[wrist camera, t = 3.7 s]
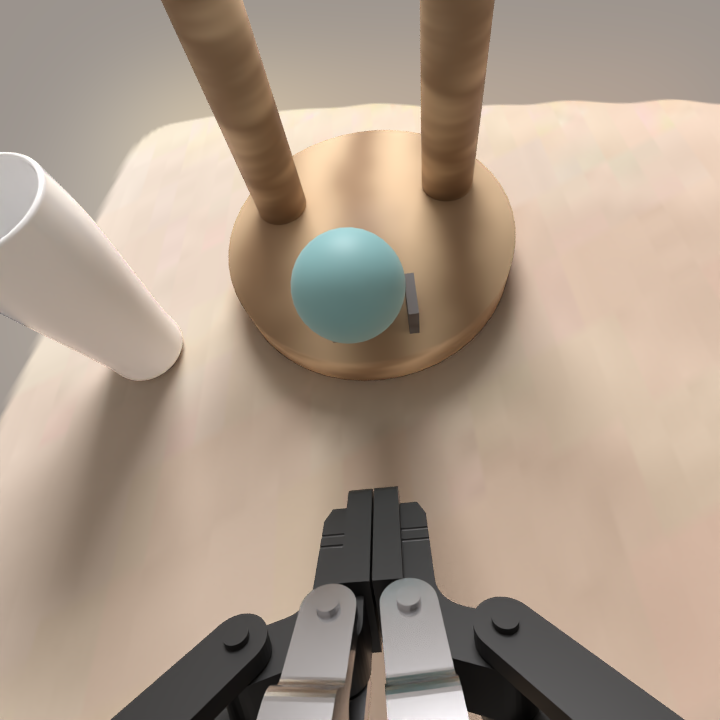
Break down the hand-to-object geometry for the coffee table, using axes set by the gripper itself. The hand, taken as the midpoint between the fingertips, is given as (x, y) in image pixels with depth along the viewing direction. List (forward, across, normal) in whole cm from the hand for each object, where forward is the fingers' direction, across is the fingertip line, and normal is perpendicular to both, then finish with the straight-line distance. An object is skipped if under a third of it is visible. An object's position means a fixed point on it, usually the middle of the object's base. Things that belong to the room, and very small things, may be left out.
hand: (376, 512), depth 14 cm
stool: (+24, 0, -4) cm, 24 cm away
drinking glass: (+20, +17, 0) cm, 26 cm away
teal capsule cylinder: (+17, 0, -3) cm, 17 cm away
